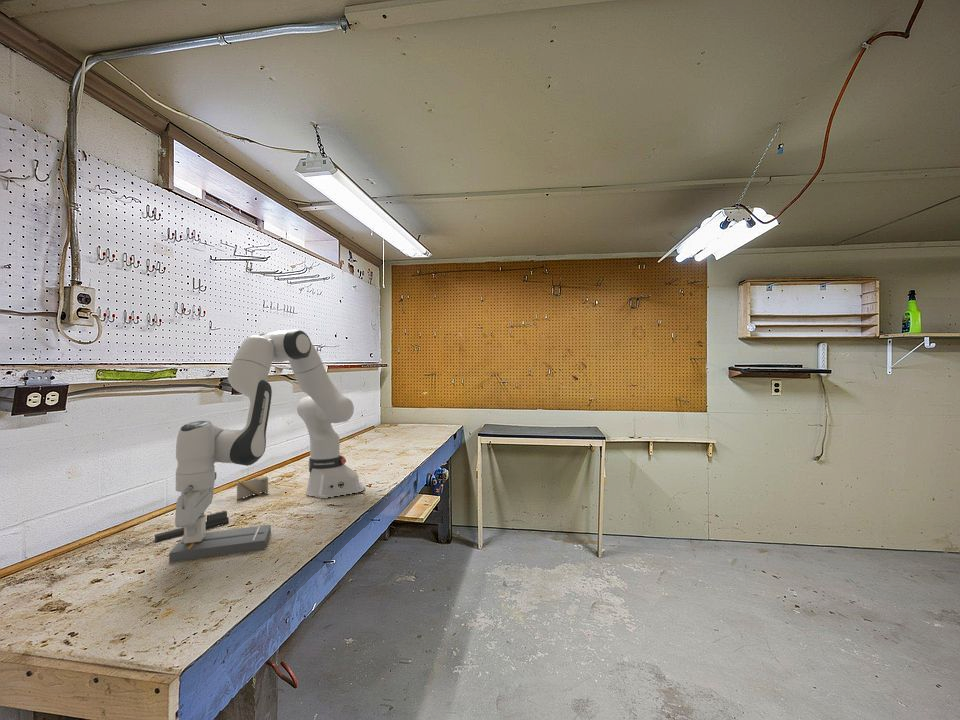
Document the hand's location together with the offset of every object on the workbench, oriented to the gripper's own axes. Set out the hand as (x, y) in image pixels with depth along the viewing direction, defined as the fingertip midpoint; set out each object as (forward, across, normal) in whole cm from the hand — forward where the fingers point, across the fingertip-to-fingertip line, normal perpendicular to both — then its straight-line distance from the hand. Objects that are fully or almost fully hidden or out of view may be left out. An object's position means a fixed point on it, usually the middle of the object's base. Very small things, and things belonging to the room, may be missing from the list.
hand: (194, 531), depth 112 cm
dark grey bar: (+6, +16, +4) cm, 17 cm away
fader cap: (+2, 0, 0) cm, 2 cm away
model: (+6, +48, -7) cm, 48 cm away
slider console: (+5, 0, -7) cm, 9 cm away
